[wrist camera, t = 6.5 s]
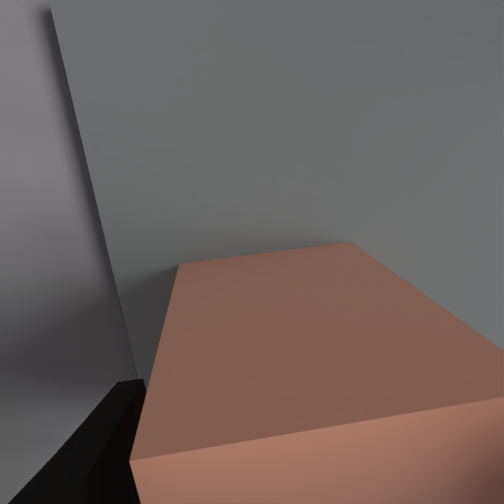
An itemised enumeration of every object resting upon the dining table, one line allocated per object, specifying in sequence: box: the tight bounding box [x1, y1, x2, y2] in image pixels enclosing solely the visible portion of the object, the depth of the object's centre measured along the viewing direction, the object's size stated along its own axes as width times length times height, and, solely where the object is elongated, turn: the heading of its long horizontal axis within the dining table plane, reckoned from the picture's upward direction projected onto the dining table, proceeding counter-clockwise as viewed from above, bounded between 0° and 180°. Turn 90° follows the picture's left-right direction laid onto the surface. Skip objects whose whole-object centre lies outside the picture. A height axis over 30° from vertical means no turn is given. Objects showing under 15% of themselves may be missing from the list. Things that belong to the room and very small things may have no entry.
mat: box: [49, 0, 504, 392], centre depth 11 cm, size 17×17×1 cm
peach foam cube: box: [129, 242, 504, 504], centre depth 8 cm, size 5×5×7 cm
